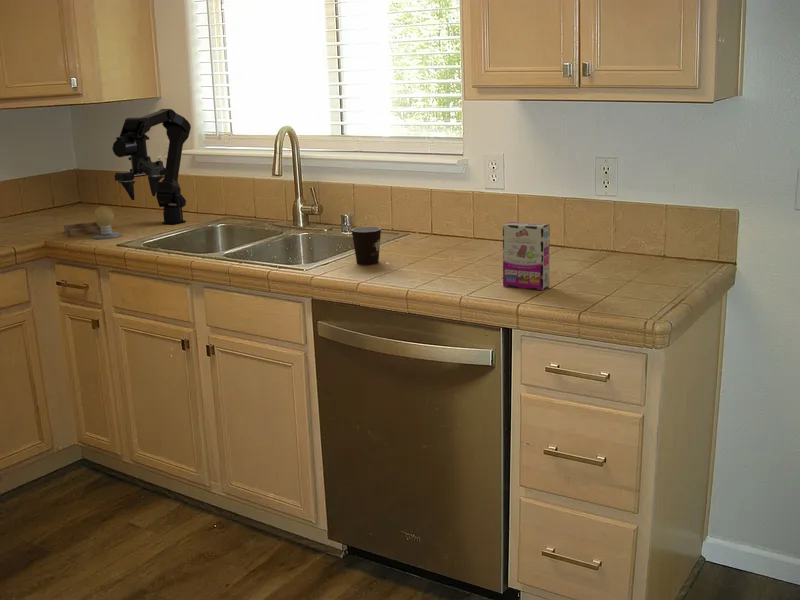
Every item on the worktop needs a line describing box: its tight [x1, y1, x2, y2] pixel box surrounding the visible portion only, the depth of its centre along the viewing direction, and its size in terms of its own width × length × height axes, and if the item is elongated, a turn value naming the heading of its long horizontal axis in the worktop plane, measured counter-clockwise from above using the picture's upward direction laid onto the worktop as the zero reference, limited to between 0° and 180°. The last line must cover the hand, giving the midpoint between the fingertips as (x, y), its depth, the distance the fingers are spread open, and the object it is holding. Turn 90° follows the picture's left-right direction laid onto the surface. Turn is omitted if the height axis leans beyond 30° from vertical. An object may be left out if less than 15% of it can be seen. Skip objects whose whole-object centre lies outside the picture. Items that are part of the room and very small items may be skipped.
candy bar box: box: [502, 221, 551, 291], centre depth 231 cm, size 11×5×16 cm, turn 59°
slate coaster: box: [91, 231, 122, 240], centre depth 319 cm, size 10×10×1 cm
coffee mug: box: [351, 225, 382, 266], centre depth 265 cm, size 12×9×10 cm
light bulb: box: [94, 205, 115, 235], centre depth 317 cm, size 6×6×10 cm
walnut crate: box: [63, 221, 101, 237], centre depth 327 cm, size 12×12×2 cm
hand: (143, 198), depth 322 cm, fingers open, 9 cm apart
